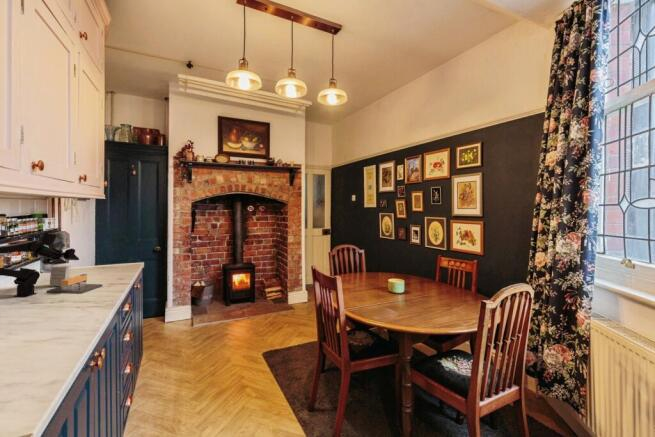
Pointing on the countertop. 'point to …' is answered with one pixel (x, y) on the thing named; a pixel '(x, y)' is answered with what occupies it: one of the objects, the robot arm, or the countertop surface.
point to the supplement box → (59, 273)
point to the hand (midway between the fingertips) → (72, 260)
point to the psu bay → (80, 290)
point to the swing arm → (74, 280)
